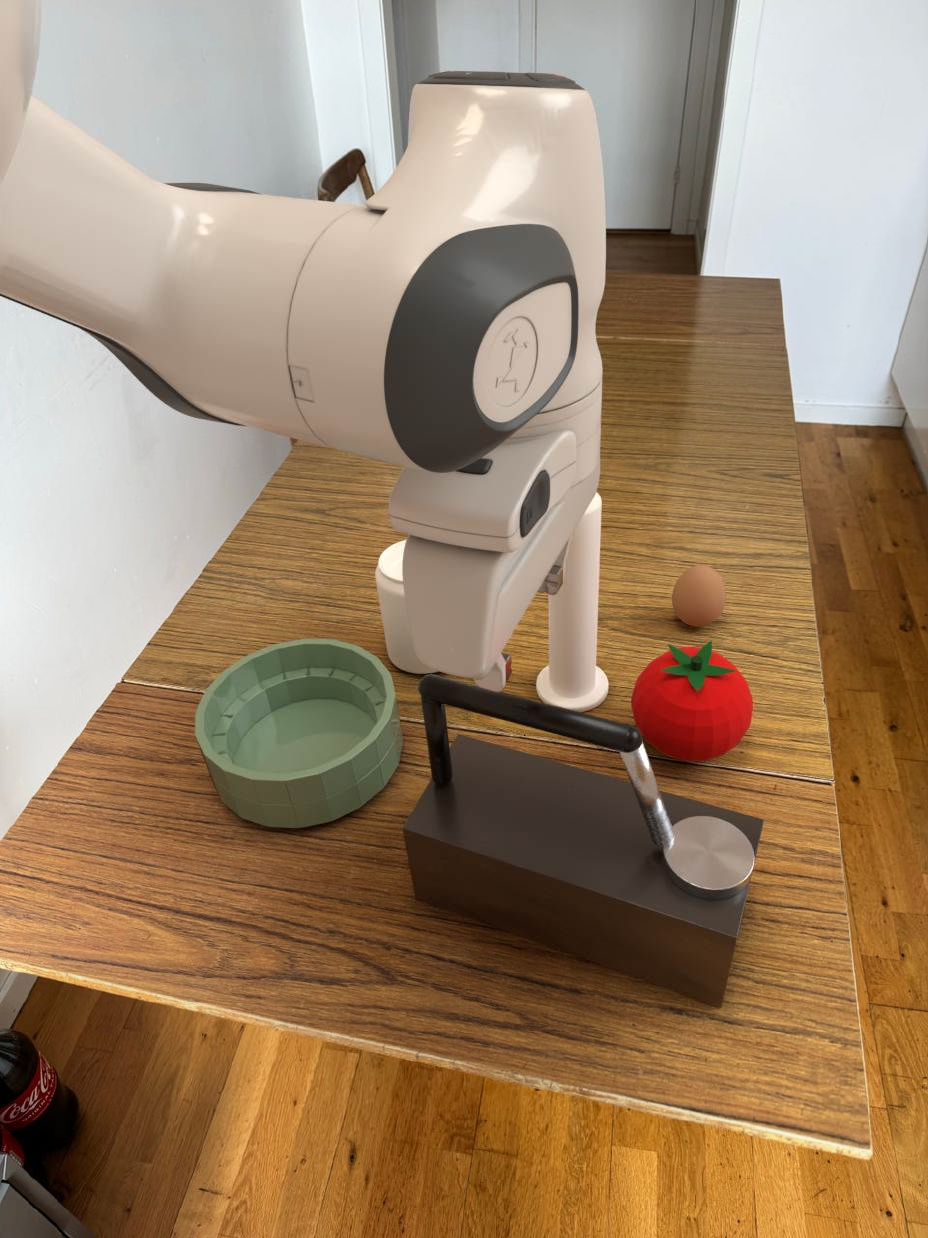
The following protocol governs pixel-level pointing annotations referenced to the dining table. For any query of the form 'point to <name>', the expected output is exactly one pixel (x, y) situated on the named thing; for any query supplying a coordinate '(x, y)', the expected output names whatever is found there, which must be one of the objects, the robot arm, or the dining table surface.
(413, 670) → the beverage can
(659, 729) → the tomato
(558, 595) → the candle
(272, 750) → the bowl
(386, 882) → the dining table surface
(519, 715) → the black and silver ladle
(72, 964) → the dining table surface
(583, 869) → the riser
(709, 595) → the egg
